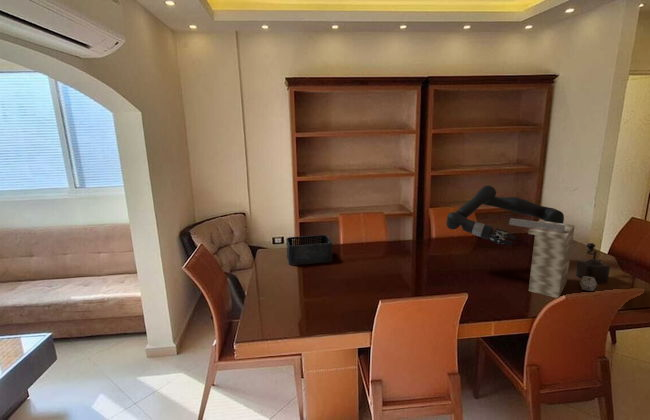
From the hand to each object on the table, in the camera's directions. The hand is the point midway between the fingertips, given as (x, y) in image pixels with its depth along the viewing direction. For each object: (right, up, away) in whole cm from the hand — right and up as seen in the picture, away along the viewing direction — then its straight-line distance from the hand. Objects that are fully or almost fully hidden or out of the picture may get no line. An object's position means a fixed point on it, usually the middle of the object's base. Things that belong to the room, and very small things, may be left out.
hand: (513, 240), depth 186 cm
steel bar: (+6, +7, -9) cm, 14 cm away
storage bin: (-112, -16, +46) cm, 122 cm away
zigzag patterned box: (+16, -24, -2) cm, 28 cm away
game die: (+33, -25, -8) cm, 42 cm away
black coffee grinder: (+45, -21, +7) cm, 51 cm away
